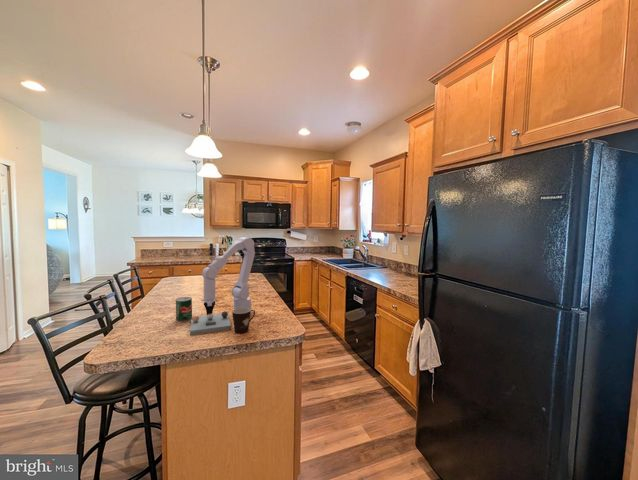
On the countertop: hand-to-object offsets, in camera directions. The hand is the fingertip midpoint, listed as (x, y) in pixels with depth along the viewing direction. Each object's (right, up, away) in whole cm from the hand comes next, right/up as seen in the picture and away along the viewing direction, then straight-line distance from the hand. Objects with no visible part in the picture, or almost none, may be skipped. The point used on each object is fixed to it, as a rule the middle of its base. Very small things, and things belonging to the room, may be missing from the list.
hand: (209, 316), depth 140 cm
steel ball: (+1, 0, -1) cm, 1 cm away
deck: (+2, -4, -4) cm, 6 cm away
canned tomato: (-16, -3, +5) cm, 17 cm away
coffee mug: (+21, -4, -11) cm, 24 cm away
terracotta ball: (-5, 0, -5) cm, 7 cm away
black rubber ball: (+7, 0, +2) cm, 8 cm away
